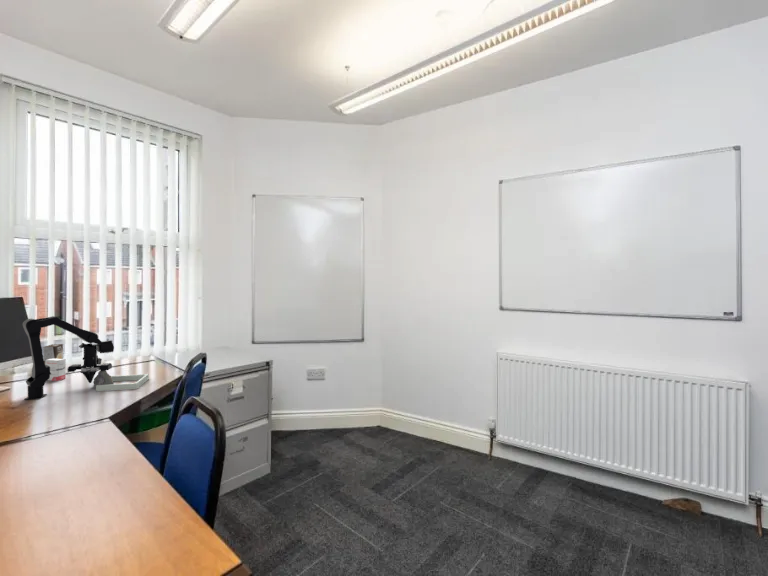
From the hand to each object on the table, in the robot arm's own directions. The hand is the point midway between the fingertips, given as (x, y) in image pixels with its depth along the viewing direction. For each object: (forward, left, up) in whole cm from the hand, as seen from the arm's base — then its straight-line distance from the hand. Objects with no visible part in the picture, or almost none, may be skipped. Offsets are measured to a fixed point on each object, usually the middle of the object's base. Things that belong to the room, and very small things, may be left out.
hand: (90, 382), depth 206 cm
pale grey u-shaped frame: (0, -16, -2) cm, 16 cm away
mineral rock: (0, -6, -2) cm, 7 cm away
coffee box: (+43, +38, -2) cm, 57 cm away
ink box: (+20, +26, -2) cm, 33 cm away
